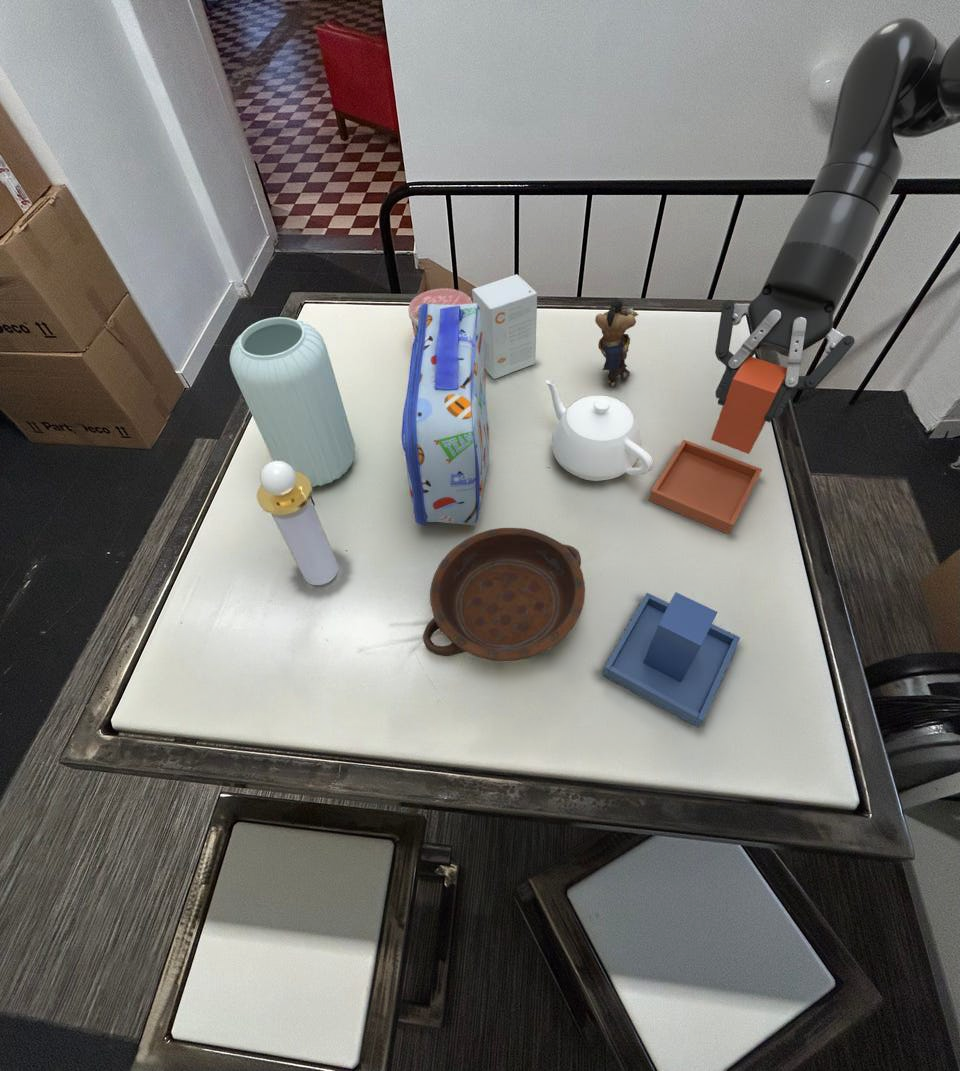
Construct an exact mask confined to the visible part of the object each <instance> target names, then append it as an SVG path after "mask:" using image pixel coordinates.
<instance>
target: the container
mask: <svg viewBox="0 0 960 1071" xmlns="http://www.w3.org/2000/svg"><path fill="white" fill-rule="evenodd" d="M424 303H425V304H437V305H463V304H469V303H473V299H471V297H470V296H469V295H467V294H466V293H465V292H463V291H461V290H458V289H454V288H443V287H442V288H435V289H429V290H427V291H424V292H421V293H419V294H418V295H416V296H415V297H413V299H412V300H411V301H410V303H409V304H408V307H407V308H408V309H407V311H408V316H409V319H410V321H411V325H412V331H413V335H414V337H415V336H416V331H415V327H414V325H416V326H417V327H418V311H419V307H420V306H421V305H423V304H424Z"/></svg>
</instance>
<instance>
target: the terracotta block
mask: <svg viewBox="0 0 960 1071" xmlns="http://www.w3.org/2000/svg"><path fill="white" fill-rule="evenodd" d="M786 371H787V367H785V366H782V365H779V364H777V363H776V364H775V363H773V362H769V361H766V360H764V359H760V358H757V357H754V356H752V357H751V356H748V358H747V359H746V360H745V361H744V362H743V363H742V365H741V367H740V368H739V370H738V371H737V373H736V375H735V376H734V378H733V380H732V383H731V386H730V388H729V391H728V394H727V397H726V400H725V403H724V405H723V406H722V407H721V411H720V413H719V415H718V418H717V422H716V424H715V427H714V430H713V432H712V435H711V438H710V440H711V441H713V442H716V443H718V444H720V445H723V446H727V447H729V448H732V449H734V450H736V451H739V452H741V453H745V454H747V455H749V454H750V453H751V452H752V449H753V447H754V445H755V444H756V442H757V440H758V438H759V436H760V435H761V433H762V431H763V428H764V426H765V425H766V421H764V418H765V416H766V414H767V412H768V410H769V408H770V406H771V404H772V402H773V400H774V398H775V396H776V394H777V392H778V390H779V388H780V386H782V385H783V383H784V381H785V377H786Z"/></svg>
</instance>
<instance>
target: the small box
mask: <svg viewBox="0 0 960 1071" xmlns="http://www.w3.org/2000/svg"><path fill="white" fill-rule="evenodd" d="M471 294H472V295H471V296H472V303H477V304H478V305H479V308H480V313H481V319H482V330H483V339H484V359H485V367H484V370H485V371H486V372H487V373H488V374H489V376H490V377H491V378H492V379H493V380H496V379H498V378H501V377H504V376H506V375H509V374H512V373H514V372H518V371H520V370H522V369H525V368H528V367H530V366H532V365H535V364H536V357H537V356H536V354H537V353H536V351H537V319H538V318H537V314H538V313H537V312H538V309H537V308H538V292H536V291H535V289H534V288H532V287H531V285H529V283H527V282H526V281H525V280H524V279H523V278H522V277H521V276H520V275H518V274H517V273H516V274H513V275H511V276H507V277H504V278H501V279H498V280H495V281H492V282H489V283H486V284H484V285H483V284H482V285H480V286H478V287H475V288H472V289H471Z"/></svg>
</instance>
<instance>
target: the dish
mask: <svg viewBox="0 0 960 1071" xmlns="http://www.w3.org/2000/svg"><path fill="white" fill-rule="evenodd" d="M581 558H582V557H581V554H580V552H579V550H578V549H577V548H575V547H574V546H572V545H569V544H564V543H561V542H560V541H558V540H557V539H555V538H553V537H550V536H549V535H547V534H544V533H542V532H538V531H536V530H533V529H528V528H522V527H497V528H492V529H488V530H484V531H482V532H479V533H476V534H474V535H472V536H470V537H467V538H466V539H464V540H463V541H461V542H460V543H458V544H457V545H456V546H455V547H453V549H452V548H451V550H450V551H448V552H447V554H446V555H445V557H444V558H443V559H441V561H440V563H439V564H438V566H437V568H436V570H435V573H434V574H433V578H432V579H431V584H430V589H429V603H430V608H431V612H432V618H431V619H430V621H429V622H428V623H427V624H426V626H425V628H424V630H423V634H422V640H423V644H424V647H425V649H427V651H428V652H430V653H432V654H433V655H435V656H438V657H444V658H445V657H446V658H447V657H452V656H457V655H460V654H463V653H467V654H469V655H471V656H474V657H477V658H480V659H484V660H488V661H492V662H517V661H521V660H526V659H530V658H533V657H535V656H538V655H540V654H542V653H545V652H547V651H548V650H549V649H552V648H553V647H554V646H556V645H557V644H559V642H561V641H562V640H563V639H564V638H566V637H567V635H568V634H569V633H570V631H571V630H572V629H573V628H574V627H575V625H576V624H577V622H578V620H579V618H580V616H581V614H582V610H583V609H584V604H585V596H586V585H585V584H586V583H585V579H584V574H583V571H582V568H581V563H582V559H581ZM438 631H439V632H440V633H441V634H443V635H444V636H445V637H446V638H447V640H448V641H449V642H450V644H448V645H436V644H435V643H434V642H433V641H432V637H433V635H434V634H435V632H438Z"/></svg>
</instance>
